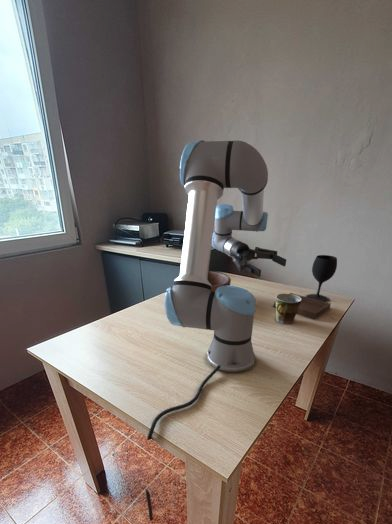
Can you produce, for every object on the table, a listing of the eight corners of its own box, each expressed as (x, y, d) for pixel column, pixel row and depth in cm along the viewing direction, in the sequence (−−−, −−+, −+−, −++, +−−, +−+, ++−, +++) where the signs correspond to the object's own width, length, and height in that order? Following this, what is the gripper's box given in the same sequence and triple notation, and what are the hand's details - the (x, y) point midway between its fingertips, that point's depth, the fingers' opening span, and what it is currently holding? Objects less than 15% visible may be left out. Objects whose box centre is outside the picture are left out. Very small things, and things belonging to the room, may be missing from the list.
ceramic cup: (280, 313, 126) (284, 291, 121) (301, 320, 120) (306, 298, 115) (263, 322, 118) (266, 299, 113) (285, 330, 112) (289, 306, 107)
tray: (314, 319, 121) (316, 313, 120) (273, 307, 133) (274, 301, 131) (329, 309, 131) (330, 303, 130) (289, 298, 142) (290, 292, 141)
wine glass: (330, 297, 144) (340, 256, 134) (325, 304, 136) (336, 261, 126) (308, 293, 149) (317, 253, 138) (303, 299, 141) (312, 257, 131)
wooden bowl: (197, 287, 155) (197, 267, 150) (238, 297, 142) (240, 276, 137) (167, 300, 137) (166, 279, 132) (210, 313, 125) (211, 290, 120)
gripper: (257, 250, 132) (293, 267, 119) (214, 266, 122) (247, 287, 109) (259, 233, 127) (296, 249, 114) (214, 249, 117) (249, 269, 104)
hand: (273, 268), depth 112 cm, fingers open, 13 cm apart
